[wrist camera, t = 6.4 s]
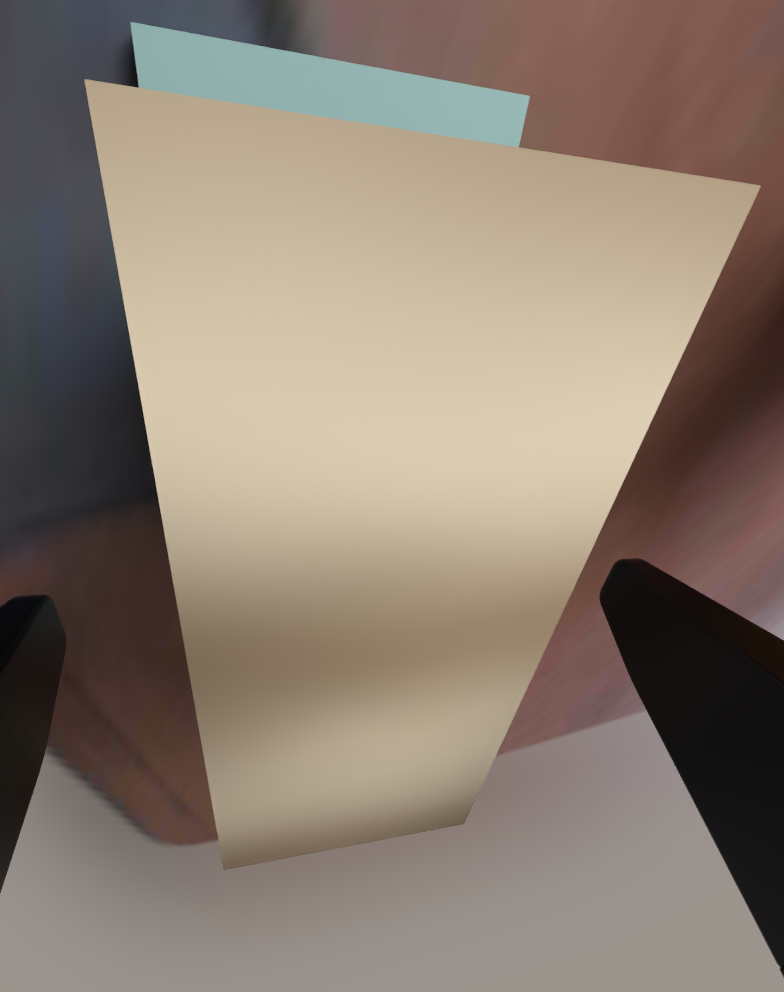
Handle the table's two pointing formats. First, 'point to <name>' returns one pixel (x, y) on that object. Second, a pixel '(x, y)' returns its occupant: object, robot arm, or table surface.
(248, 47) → the peg stand
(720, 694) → the robot arm
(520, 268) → the board
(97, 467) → the table surface
